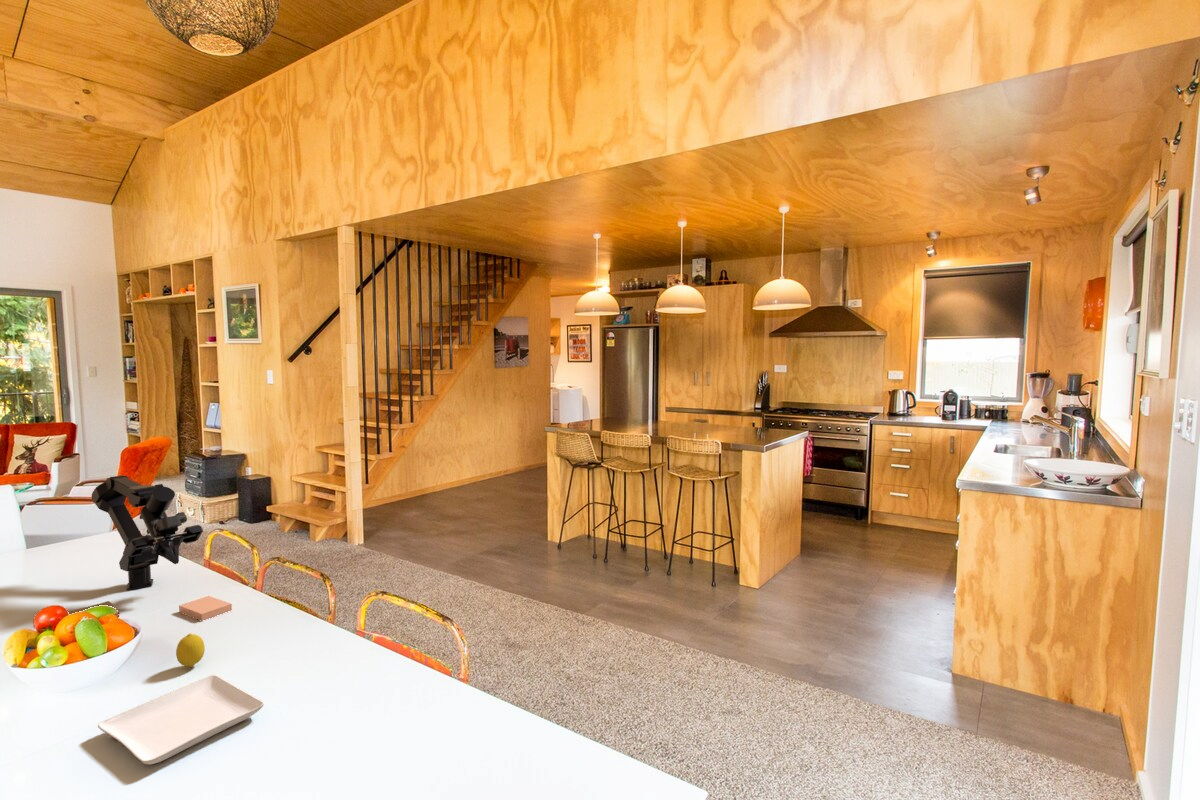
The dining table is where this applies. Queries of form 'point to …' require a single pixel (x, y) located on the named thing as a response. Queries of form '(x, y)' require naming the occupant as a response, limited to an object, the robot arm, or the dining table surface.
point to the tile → (205, 608)
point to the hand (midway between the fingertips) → (176, 563)
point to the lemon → (190, 650)
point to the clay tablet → (92, 606)
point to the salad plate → (181, 718)
